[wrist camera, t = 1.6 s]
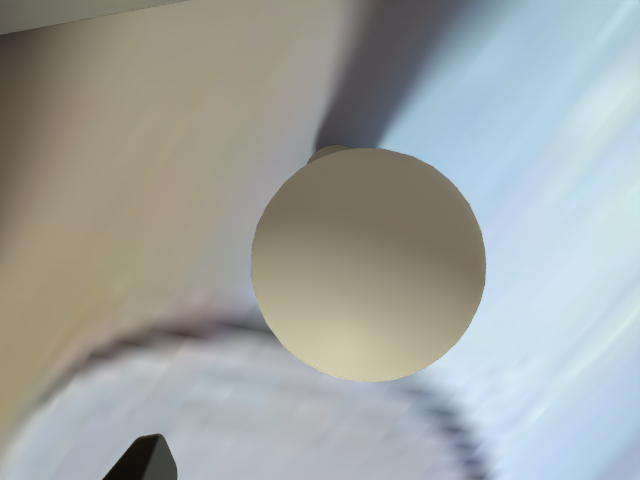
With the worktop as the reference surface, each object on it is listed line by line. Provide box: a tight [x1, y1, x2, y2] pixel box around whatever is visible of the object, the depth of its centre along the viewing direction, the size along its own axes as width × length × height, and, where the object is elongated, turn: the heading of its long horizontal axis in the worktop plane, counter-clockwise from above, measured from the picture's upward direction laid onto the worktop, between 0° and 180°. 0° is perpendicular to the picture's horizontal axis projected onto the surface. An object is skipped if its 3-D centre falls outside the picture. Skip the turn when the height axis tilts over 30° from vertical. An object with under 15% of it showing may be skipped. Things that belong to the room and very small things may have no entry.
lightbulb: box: [251, 145, 486, 382], centre depth 16 cm, size 6×6×11 cm
